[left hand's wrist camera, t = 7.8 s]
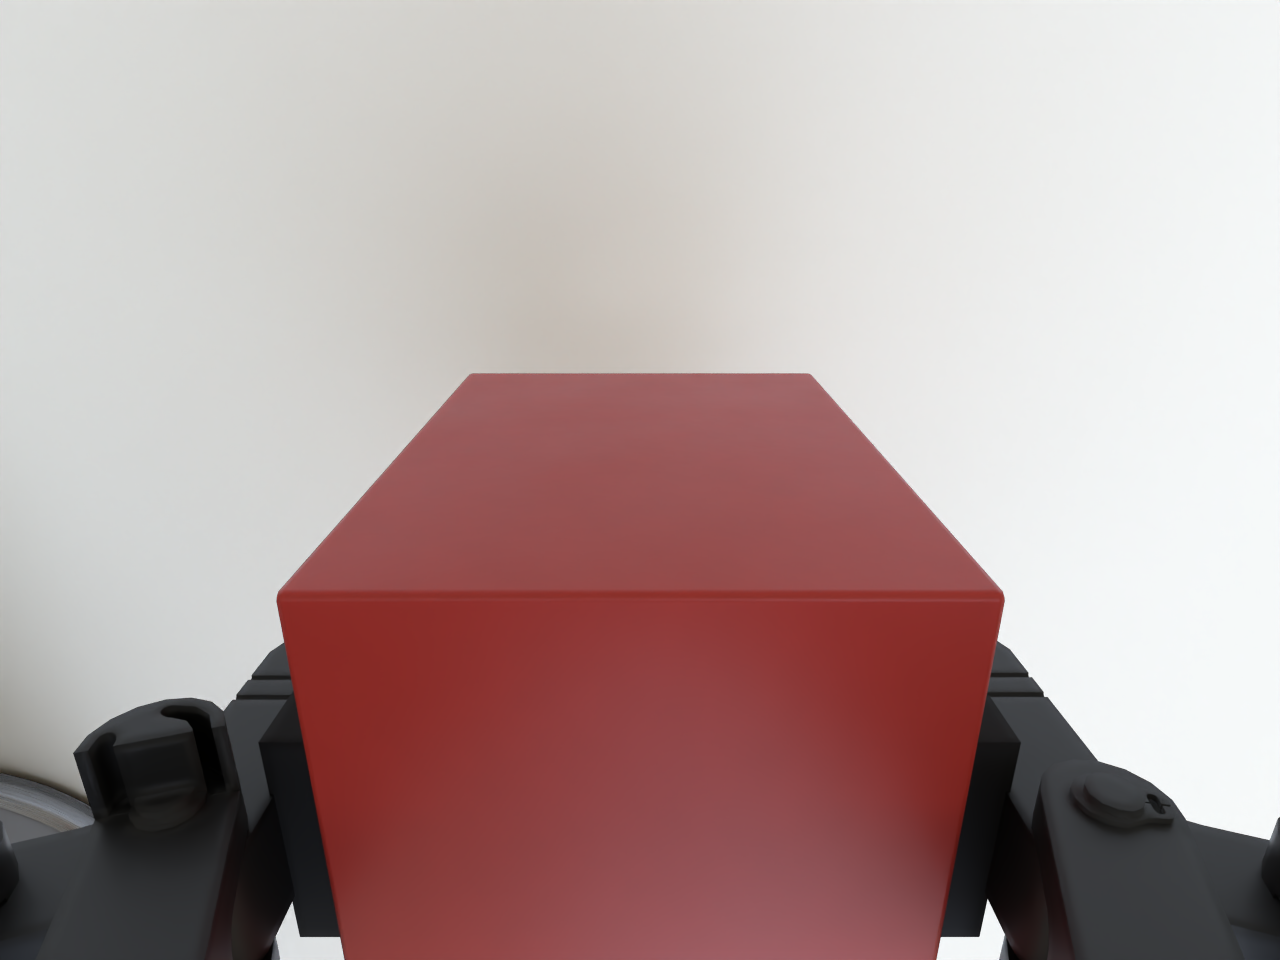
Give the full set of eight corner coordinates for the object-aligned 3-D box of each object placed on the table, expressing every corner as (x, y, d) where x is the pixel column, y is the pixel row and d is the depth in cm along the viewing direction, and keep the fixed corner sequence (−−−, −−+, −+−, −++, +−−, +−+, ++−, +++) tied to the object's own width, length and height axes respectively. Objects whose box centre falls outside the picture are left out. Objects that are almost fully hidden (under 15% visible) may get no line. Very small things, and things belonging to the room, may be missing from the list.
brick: (786, 688, 17) (909, 1116, 9) (493, 688, 17) (370, 1115, 9) (811, 372, 14) (1011, 594, 7) (468, 372, 14) (271, 593, 7)
